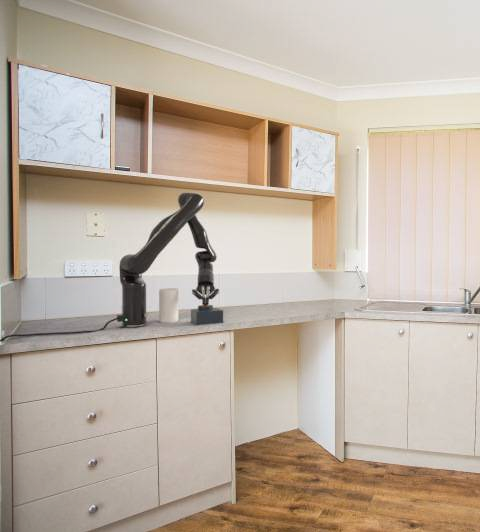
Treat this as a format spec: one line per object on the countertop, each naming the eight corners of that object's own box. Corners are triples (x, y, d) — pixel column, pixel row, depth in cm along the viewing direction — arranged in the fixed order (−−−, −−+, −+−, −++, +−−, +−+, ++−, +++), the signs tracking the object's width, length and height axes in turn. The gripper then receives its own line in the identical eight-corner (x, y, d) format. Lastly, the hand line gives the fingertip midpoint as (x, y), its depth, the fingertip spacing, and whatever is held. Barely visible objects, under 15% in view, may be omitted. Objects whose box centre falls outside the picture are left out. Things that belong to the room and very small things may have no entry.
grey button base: (196, 325, 186) (196, 308, 185) (190, 321, 194) (190, 305, 194) (223, 322, 193) (223, 306, 193) (216, 319, 202) (216, 304, 202)
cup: (162, 319, 199) (162, 288, 198) (180, 319, 200) (180, 288, 200) (156, 322, 191) (156, 289, 190) (174, 322, 192) (174, 289, 192)
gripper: (191, 274, 201) (190, 300, 190) (219, 274, 207) (220, 299, 196) (191, 283, 206) (190, 310, 195) (219, 283, 211) (220, 308, 201)
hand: (205, 304), depth 195 cm, fingers closed
